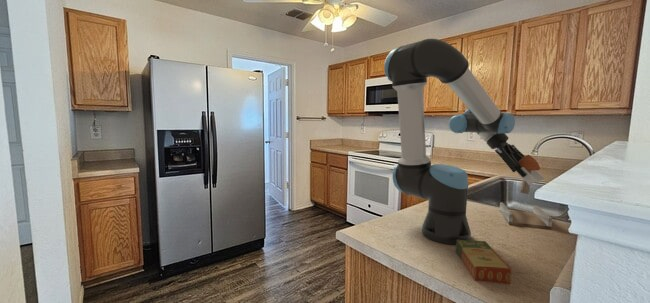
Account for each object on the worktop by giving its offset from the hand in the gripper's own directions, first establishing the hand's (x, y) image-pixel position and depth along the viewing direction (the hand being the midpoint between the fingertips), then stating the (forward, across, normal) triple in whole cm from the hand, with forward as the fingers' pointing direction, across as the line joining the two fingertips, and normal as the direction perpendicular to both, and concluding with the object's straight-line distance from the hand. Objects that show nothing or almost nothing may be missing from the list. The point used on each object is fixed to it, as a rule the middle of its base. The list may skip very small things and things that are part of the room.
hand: (537, 181), depth 106 cm
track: (+9, 0, -14) cm, 16 cm away
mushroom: (+1, 0, -6) cm, 6 cm away
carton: (+13, +50, -10) cm, 52 cm away
